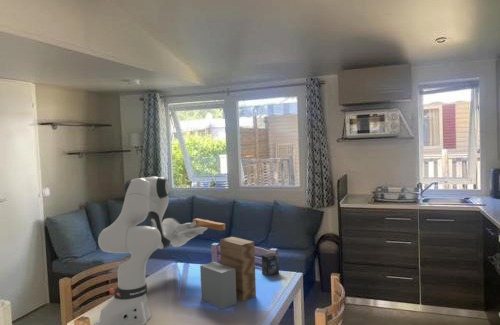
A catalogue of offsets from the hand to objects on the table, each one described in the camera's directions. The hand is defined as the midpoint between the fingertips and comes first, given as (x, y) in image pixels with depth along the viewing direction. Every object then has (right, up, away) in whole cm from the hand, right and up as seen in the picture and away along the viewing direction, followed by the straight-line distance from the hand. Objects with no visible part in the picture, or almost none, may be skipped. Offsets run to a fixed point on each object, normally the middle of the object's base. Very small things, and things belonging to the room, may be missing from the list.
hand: (199, 221), depth 207 cm
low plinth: (+12, -33, -28) cm, 44 cm away
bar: (+5, -2, -6) cm, 8 cm away
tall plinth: (+21, -32, -20) cm, 43 cm away
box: (+38, -30, +9) cm, 50 cm away
